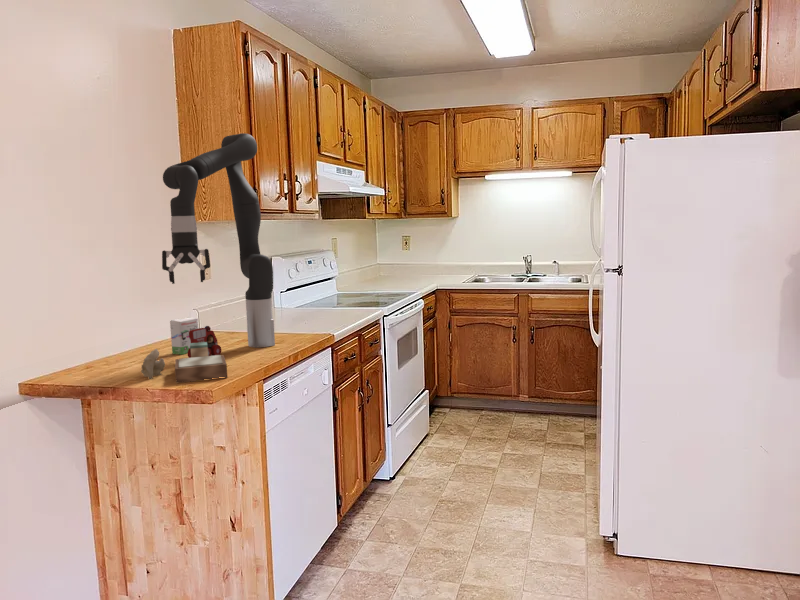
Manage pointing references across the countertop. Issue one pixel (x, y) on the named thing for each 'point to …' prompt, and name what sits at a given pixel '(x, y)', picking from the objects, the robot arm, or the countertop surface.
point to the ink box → (182, 334)
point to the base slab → (200, 368)
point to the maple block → (199, 349)
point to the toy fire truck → (205, 340)
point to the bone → (152, 365)
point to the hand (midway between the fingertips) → (187, 282)
